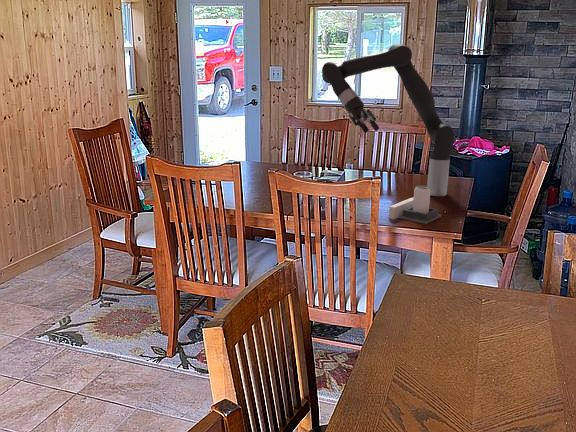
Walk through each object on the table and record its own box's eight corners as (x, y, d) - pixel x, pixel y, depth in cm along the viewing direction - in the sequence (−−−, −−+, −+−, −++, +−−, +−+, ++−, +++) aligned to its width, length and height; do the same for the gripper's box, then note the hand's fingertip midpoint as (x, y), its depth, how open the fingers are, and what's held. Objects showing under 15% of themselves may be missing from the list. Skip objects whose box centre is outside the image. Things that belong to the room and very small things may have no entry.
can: (428, 217, 232) (430, 189, 229) (412, 216, 234) (414, 188, 230) (428, 213, 238) (430, 185, 235) (412, 212, 240) (414, 184, 236)
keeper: (415, 211, 245) (415, 203, 244) (441, 216, 237) (442, 208, 236) (399, 218, 234) (399, 210, 233) (426, 224, 227) (426, 216, 226)
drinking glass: (336, 208, 248) (337, 180, 244) (327, 213, 239) (328, 185, 236) (315, 204, 252) (316, 178, 249) (305, 210, 244) (306, 182, 240)
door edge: (411, 208, 249) (412, 197, 247) (416, 209, 247) (417, 198, 246) (388, 218, 234) (389, 206, 232) (393, 219, 232) (394, 207, 231)
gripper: (347, 96, 241) (369, 126, 237) (365, 94, 251) (386, 123, 248) (336, 108, 245) (358, 138, 242) (354, 106, 256) (375, 134, 252)
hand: (372, 130), depth 245 cm, fingers open, 8 cm apart
